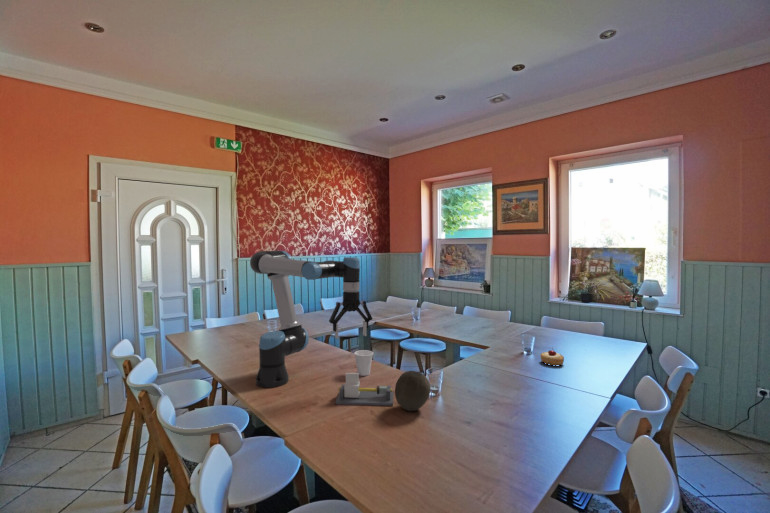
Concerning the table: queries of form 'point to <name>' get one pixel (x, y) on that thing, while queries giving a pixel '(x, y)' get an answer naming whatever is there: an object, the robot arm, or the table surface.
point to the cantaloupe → (412, 390)
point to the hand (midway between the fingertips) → (350, 336)
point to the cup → (363, 361)
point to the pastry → (552, 358)
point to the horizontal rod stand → (368, 396)
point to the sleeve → (352, 385)
